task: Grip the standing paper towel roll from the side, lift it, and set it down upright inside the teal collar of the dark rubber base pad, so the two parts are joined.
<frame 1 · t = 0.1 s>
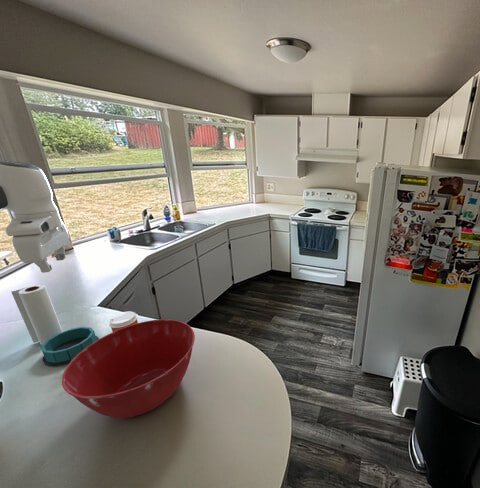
hand: (54, 265, 76), 32 cm above the table, tool pointing down, fingers open, 8 cm apart
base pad: (73, 350, 87), on the table
paper cup: (132, 351, 88), on the table
paper towel roll: (51, 340, 91), on the table
mixing bowl: (147, 392, 73), on the table
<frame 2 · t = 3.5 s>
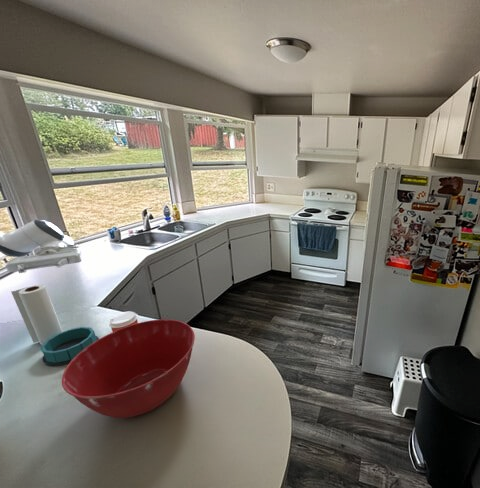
hand: (39, 268, 92), 24 cm above the table, tool horizontal, fingers open, 8 cm apart
nothing on the table moved.
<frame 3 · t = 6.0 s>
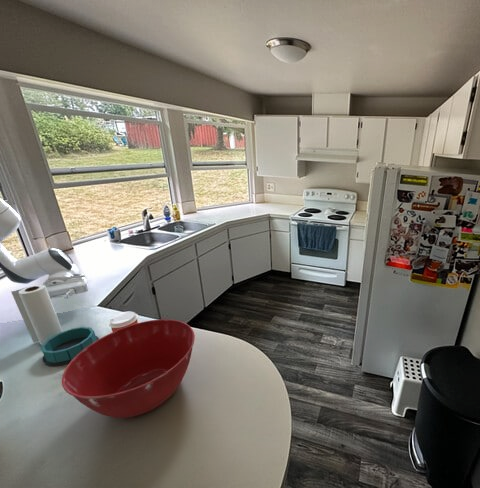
hand: (48, 300, 94), 12 cm above the table, tool horizontal, fingers open, 8 cm apart
nothing on the table moved.
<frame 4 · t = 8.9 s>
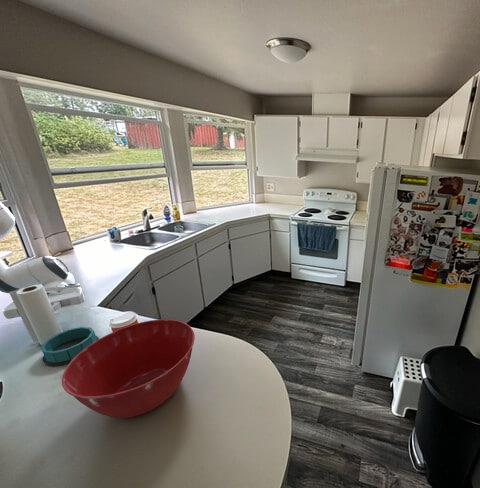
hand: (40, 313, 86), 12 cm above the table, tool horizontal, fingers closed on paper towel roll, 3 cm apart
paper towel roll: (51, 339, 91), on the table, touching gripper
everything else where it was.
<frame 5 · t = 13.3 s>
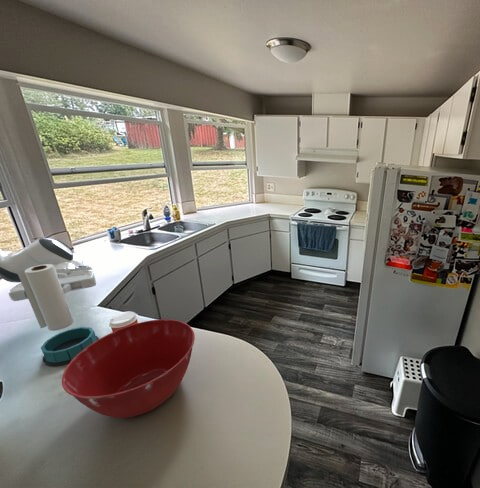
hand: (49, 296, 79), 22 cm above the table, tool horizontal, fingers closed on paper towel roll, 3 cm apart
paper towel roll: (60, 325, 83), point 10 cm above the table, touching gripper
everything else where it was.
when the fingers open (13 cm above the table, at t = 18.1 s): paper towel roll stays where it is, resting on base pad.
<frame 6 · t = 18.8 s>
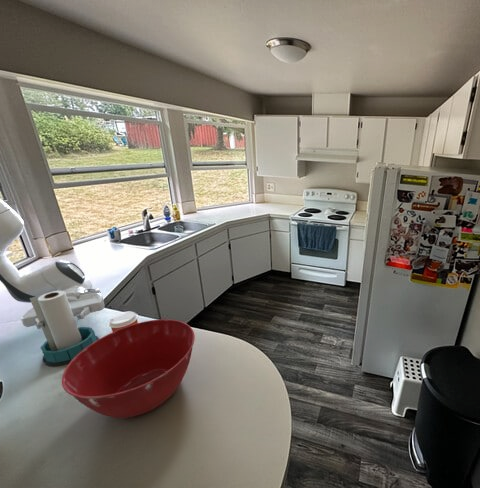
hand: (60, 321, 82), 13 cm above the table, tool horizontal, fingers open, 8 cm apart
paper towel roll: (70, 348, 86), point 1 cm above the table, touching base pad
everything else where it was.
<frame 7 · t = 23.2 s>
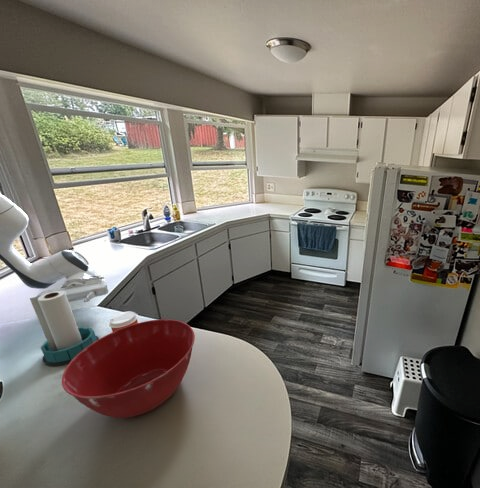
hand: (68, 303, 90), 13 cm above the table, tool horizontal, fingers open, 8 cm apart
nothing on the table moved.
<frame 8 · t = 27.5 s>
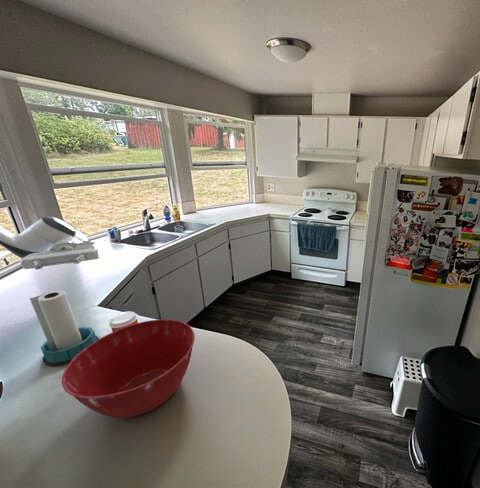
hand: (57, 264, 87), 28 cm above the table, tool horizontal, fingers open, 8 cm apart
nothing on the table moved.
at the end: paper towel roll 0.4 cm off-centre on the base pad, point 0.8 cm above the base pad's base; paper towel roll tilted 0°; the gripper is holding nothing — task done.
